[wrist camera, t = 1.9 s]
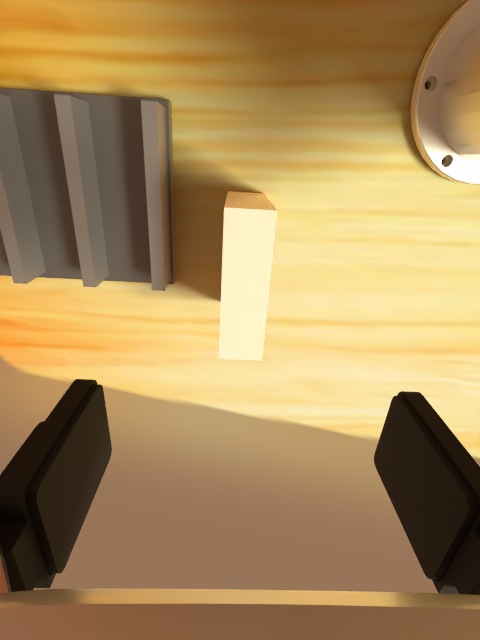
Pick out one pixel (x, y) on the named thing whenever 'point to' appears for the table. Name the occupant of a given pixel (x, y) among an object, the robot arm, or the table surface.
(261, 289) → the beige square block
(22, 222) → the rack
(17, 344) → the table surface
